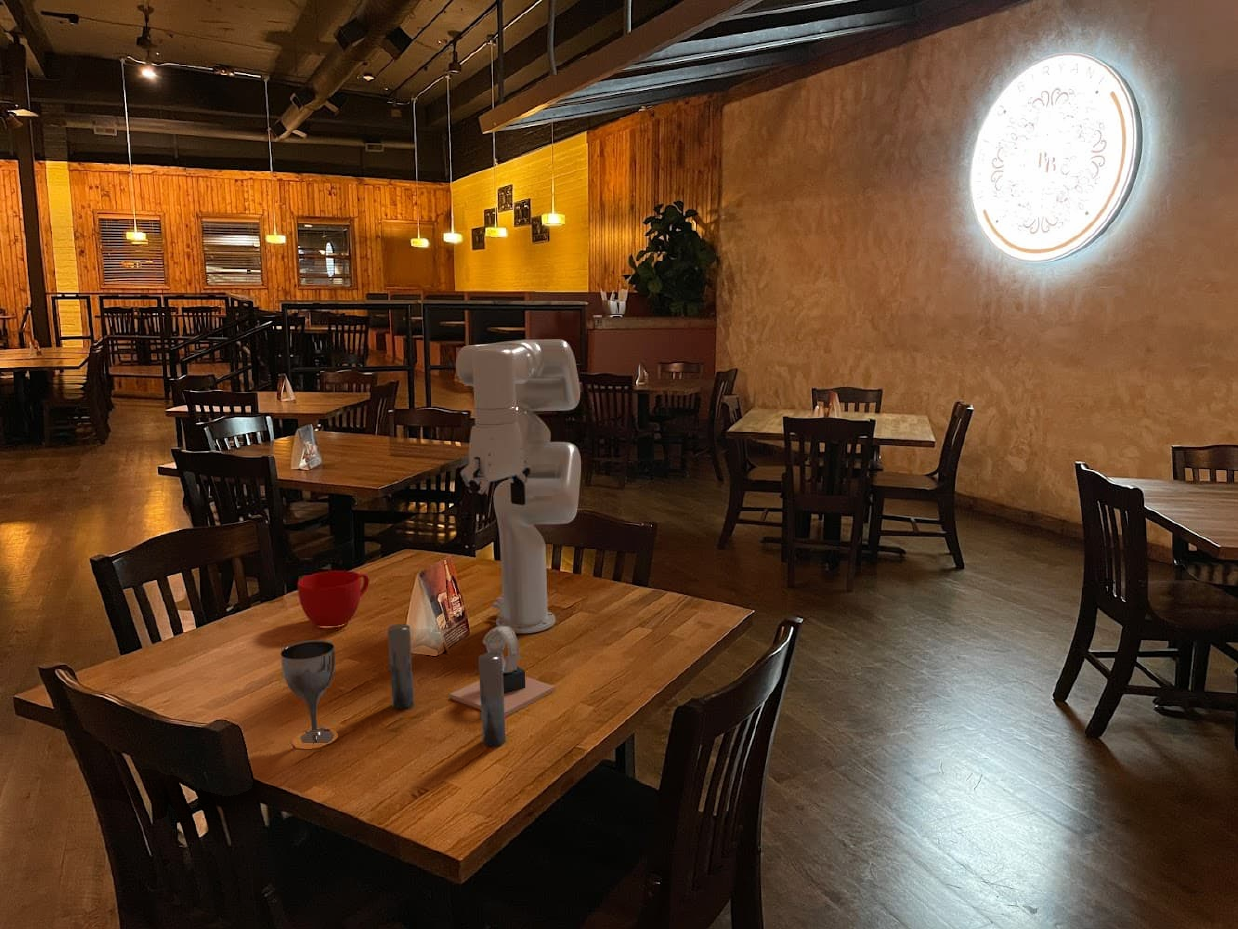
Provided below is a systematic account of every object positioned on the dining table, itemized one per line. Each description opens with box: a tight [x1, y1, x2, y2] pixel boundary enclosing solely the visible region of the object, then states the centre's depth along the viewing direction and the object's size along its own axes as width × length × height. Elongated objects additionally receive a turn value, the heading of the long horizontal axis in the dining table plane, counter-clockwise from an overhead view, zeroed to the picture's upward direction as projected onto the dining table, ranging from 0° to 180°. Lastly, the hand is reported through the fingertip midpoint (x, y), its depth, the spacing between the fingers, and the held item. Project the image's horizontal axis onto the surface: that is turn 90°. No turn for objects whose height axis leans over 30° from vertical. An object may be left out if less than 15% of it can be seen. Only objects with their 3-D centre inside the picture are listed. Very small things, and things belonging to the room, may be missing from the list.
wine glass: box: [280, 639, 336, 744], centre depth 140 cm, size 8×8×15 cm
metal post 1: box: [387, 623, 415, 711], centre depth 151 cm, size 4×4×14 cm
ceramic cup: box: [297, 570, 370, 627], centre depth 194 cm, size 13×17×10 cm
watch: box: [482, 626, 526, 694], centre depth 156 cm, size 6×8×11 cm
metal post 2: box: [478, 652, 507, 748], centre depth 138 cm, size 4×4×14 cm
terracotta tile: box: [449, 676, 556, 718], centre depth 156 cm, size 13×13×1 cm
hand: (499, 509), depth 164 cm, fingers open, 9 cm apart
